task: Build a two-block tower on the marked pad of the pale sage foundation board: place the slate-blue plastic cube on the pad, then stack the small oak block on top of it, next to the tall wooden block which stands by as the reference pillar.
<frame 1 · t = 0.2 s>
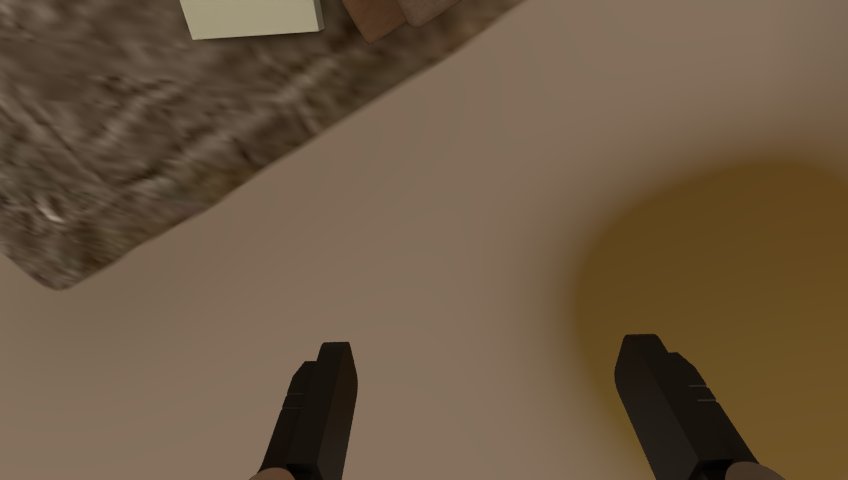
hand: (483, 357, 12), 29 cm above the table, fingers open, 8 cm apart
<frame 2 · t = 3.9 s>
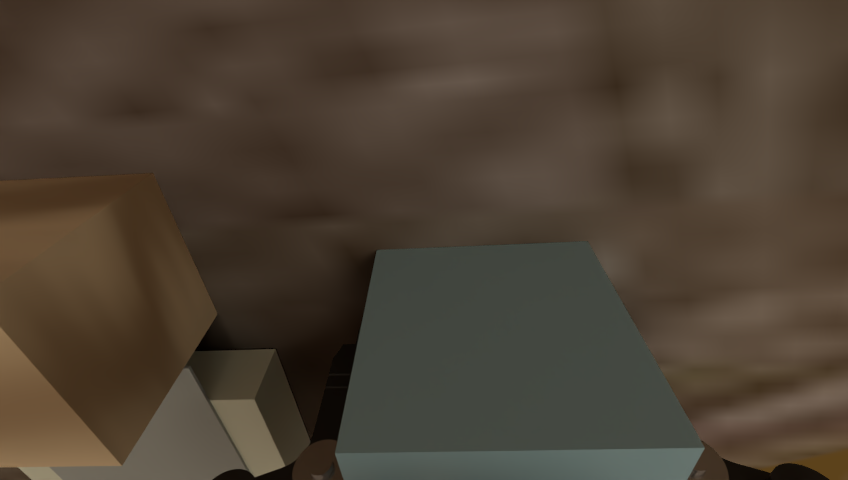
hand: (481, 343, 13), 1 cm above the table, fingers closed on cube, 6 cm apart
foundation board: (194, 441, 17), on the table
oak block: (109, 253, 12), on the table
cube: (479, 321, 13), on the table, touching gripper
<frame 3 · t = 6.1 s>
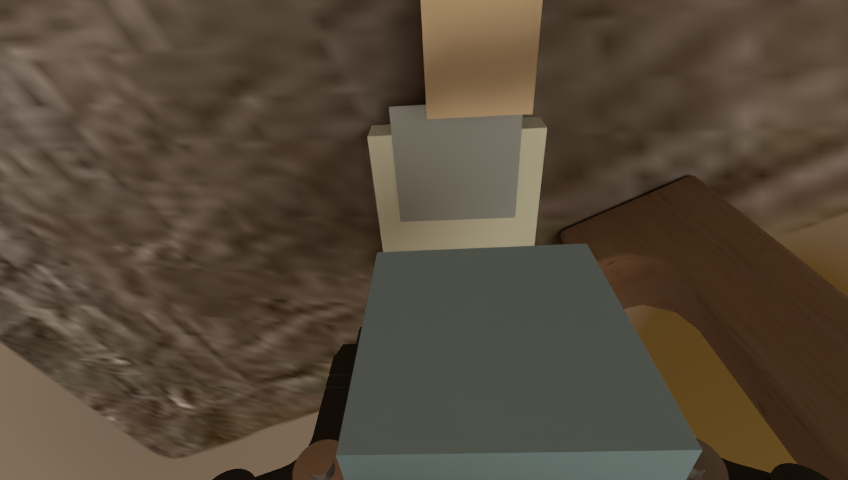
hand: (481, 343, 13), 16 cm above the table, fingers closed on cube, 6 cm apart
foundation board: (456, 202, 27), on the table
wooden block: (629, 225, 28), on the table
oak block: (471, 43, 22), on the table
cube: (479, 323, 13), point 15 cm above the table, touching gripper
when the fingers open (4 cm above the table, at t = 8.7 s): cube stays where it is, resting on foundation board.
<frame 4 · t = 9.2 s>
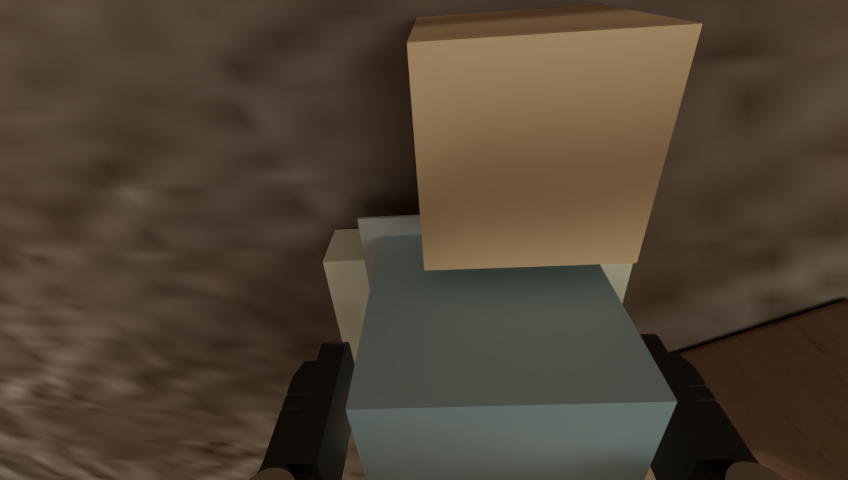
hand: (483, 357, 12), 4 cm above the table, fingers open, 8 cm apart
foundation board: (471, 332, 18), on the table
wooden block: (735, 359, 19), on the table
oak block: (504, 103, 13), on the table
cube: (478, 305, 14), point 2 cm above the table, touching foundation board
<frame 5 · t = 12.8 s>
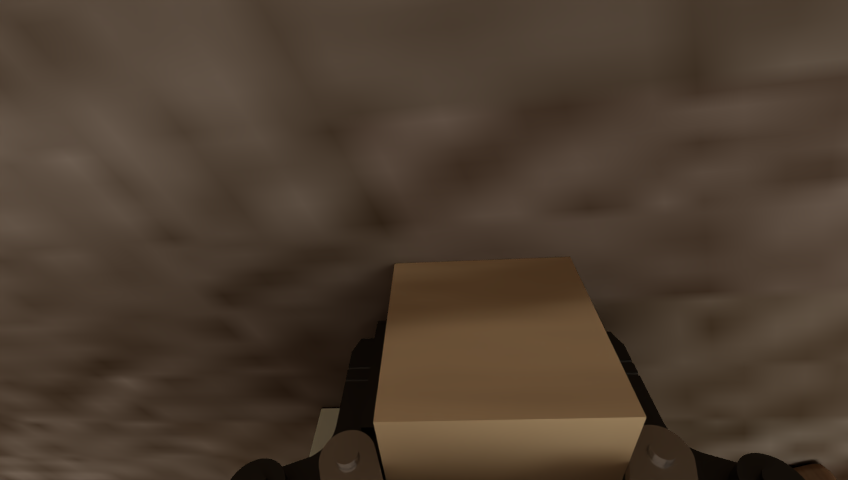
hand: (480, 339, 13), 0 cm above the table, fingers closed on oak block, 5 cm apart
oak block: (480, 323, 13), on the table, touching gripper
when the fingers open (9 cm above the table, at t = 16.7 s): oak block stays where it is, resting on cube.
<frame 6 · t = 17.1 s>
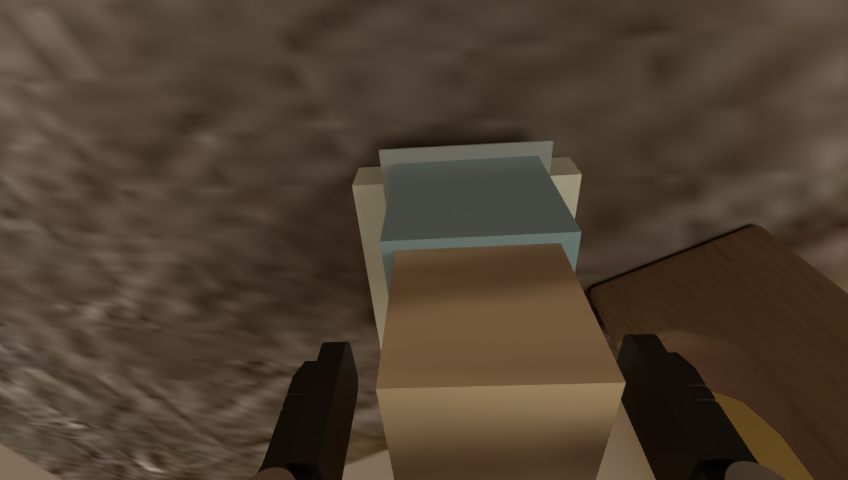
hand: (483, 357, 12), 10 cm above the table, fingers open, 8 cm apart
foundation board: (463, 256, 23), on the table
wooden block: (674, 281, 23), on the table
oak block: (476, 308, 14), point 8 cm above the table, touching cube
cube: (467, 221, 19), point 2 cm above the table, touching foundation board, oak block
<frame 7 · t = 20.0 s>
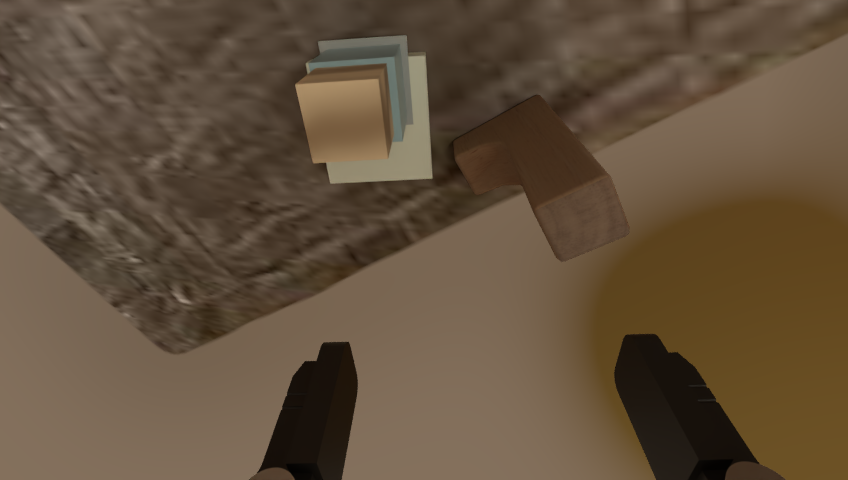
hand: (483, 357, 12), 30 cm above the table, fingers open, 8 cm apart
foundation board: (376, 118, 39), on the table
wooden block: (503, 136, 39), on the table
oak block: (356, 102, 30), point 8 cm above the table, touching cube
cube: (368, 85, 35), point 2 cm above the table, touching foundation board, oak block
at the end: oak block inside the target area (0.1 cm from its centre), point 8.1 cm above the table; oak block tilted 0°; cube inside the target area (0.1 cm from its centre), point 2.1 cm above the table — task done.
